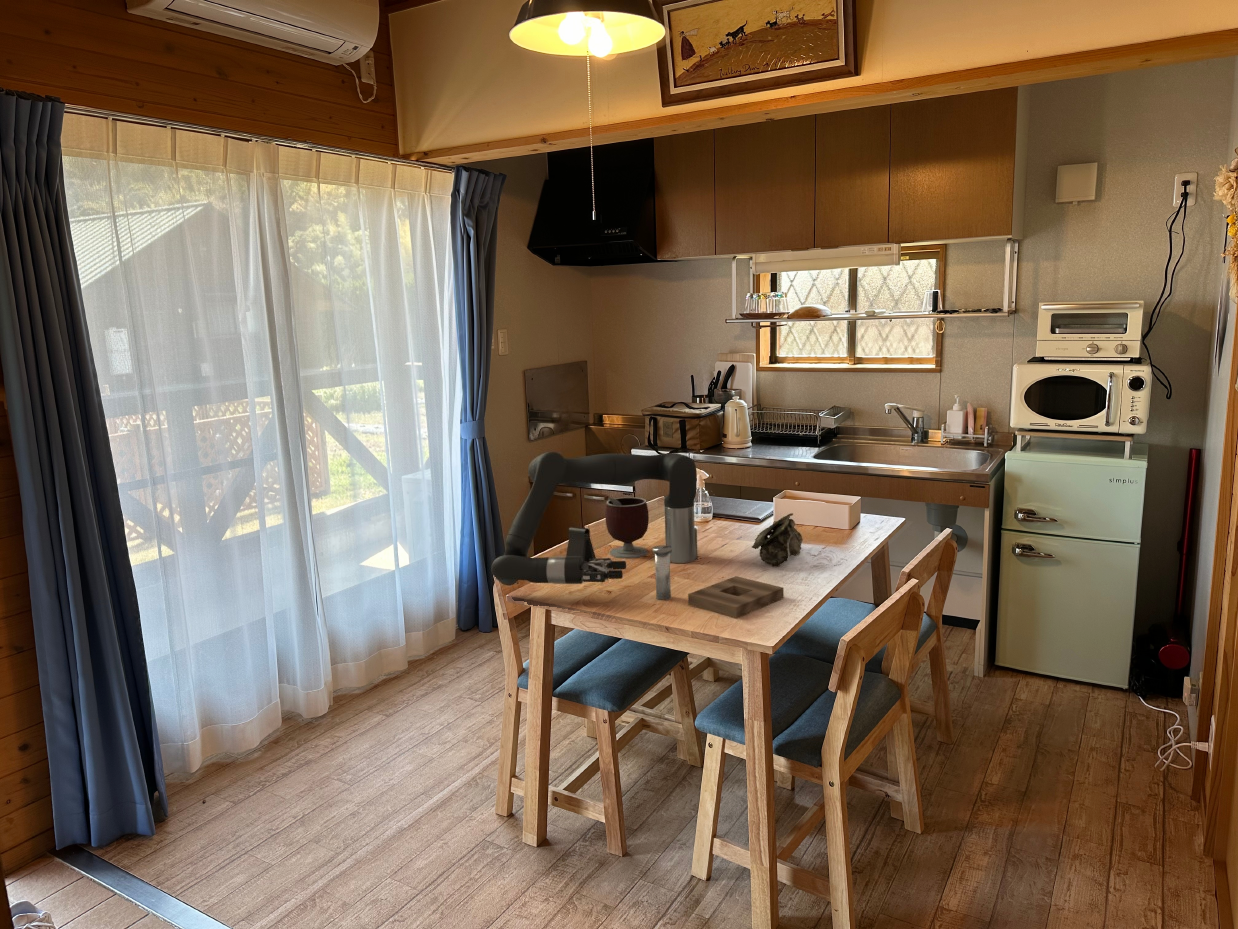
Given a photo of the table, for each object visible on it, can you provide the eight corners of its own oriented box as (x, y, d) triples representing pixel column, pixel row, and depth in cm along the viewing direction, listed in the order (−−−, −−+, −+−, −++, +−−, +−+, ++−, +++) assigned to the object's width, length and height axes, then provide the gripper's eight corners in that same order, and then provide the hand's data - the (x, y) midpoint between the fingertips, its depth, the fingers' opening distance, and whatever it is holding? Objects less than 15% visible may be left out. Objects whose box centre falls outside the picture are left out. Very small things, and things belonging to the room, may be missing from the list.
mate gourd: (625, 545, 287) (622, 486, 284) (658, 551, 279) (656, 490, 275) (594, 556, 276) (592, 495, 272) (628, 562, 267) (626, 500, 263)
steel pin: (663, 593, 237) (661, 544, 234) (677, 597, 233) (675, 547, 230) (650, 598, 233) (648, 548, 231) (664, 602, 229) (662, 551, 227)
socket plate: (736, 586, 240) (736, 576, 239) (783, 598, 229) (783, 587, 228) (688, 604, 226) (688, 594, 226) (736, 618, 215) (736, 607, 215)
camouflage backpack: (771, 587, 253) (806, 554, 247) (739, 556, 255) (774, 522, 249) (790, 558, 278) (822, 527, 272) (761, 530, 280) (793, 499, 274)
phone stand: (580, 570, 261) (578, 532, 259) (564, 568, 264) (562, 530, 262) (597, 562, 269) (595, 525, 266) (581, 560, 272) (579, 523, 270)
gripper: (560, 564, 227) (620, 563, 225) (569, 549, 241) (626, 549, 239) (561, 591, 228) (622, 591, 226) (570, 575, 242) (627, 575, 240)
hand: (624, 569), depth 233 cm, fingers open, 8 cm apart
